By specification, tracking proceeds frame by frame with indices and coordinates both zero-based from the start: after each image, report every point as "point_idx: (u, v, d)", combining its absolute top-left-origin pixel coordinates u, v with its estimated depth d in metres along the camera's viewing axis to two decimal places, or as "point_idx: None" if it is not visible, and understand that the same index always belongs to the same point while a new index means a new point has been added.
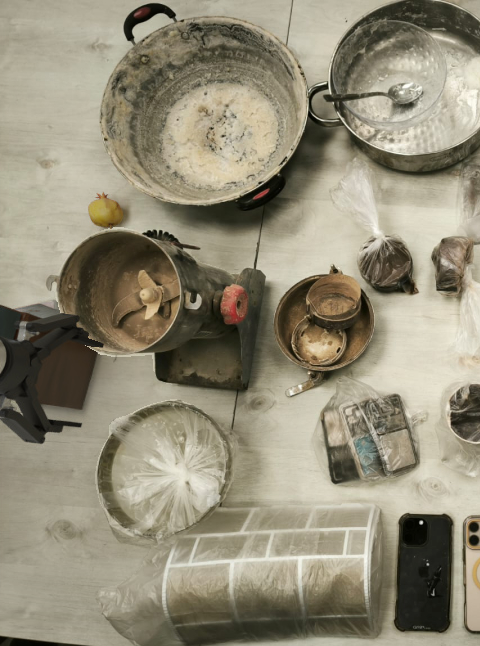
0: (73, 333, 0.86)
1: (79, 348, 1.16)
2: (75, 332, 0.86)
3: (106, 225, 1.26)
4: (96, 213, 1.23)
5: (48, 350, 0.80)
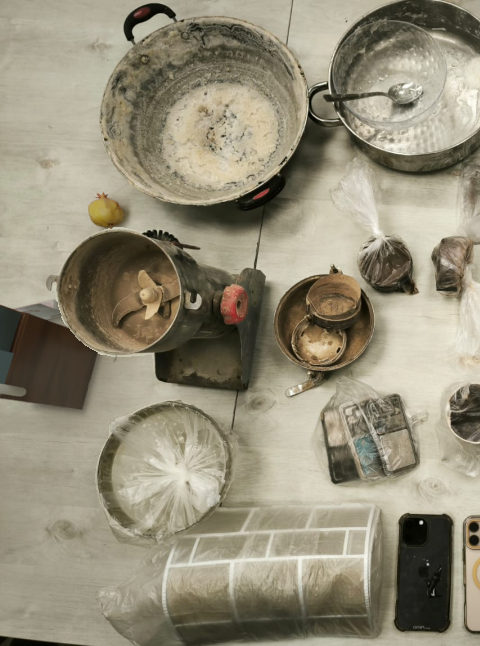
0: None
1: (79, 348, 1.16)
2: None
3: (106, 225, 1.26)
4: (96, 213, 1.23)
5: None
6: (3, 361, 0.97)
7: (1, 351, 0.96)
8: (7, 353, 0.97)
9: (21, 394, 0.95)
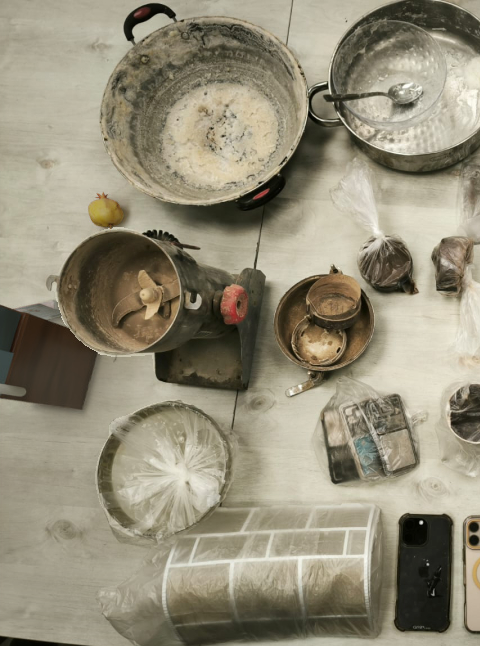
0: None
1: (79, 348, 1.16)
2: None
3: (106, 225, 1.26)
4: (96, 213, 1.23)
5: None
6: (3, 361, 0.97)
7: (1, 351, 0.96)
8: (7, 353, 0.97)
9: (21, 394, 0.95)
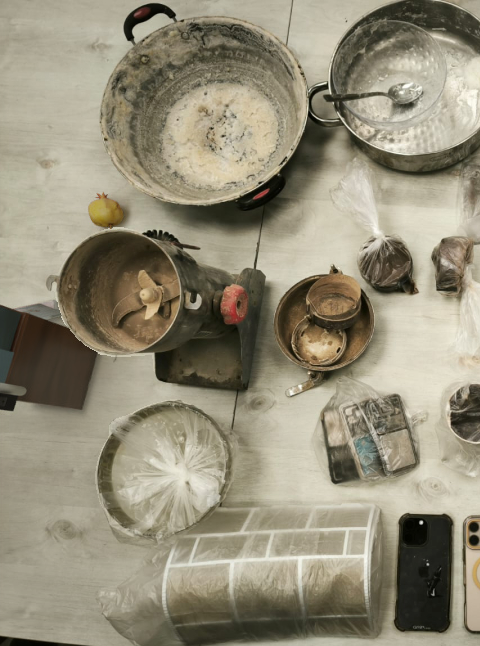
0: None
1: (79, 348, 1.16)
2: None
3: (106, 225, 1.26)
4: (96, 213, 1.23)
5: None
6: (3, 360, 0.97)
7: (1, 350, 0.96)
8: (7, 352, 0.97)
9: (21, 393, 0.95)
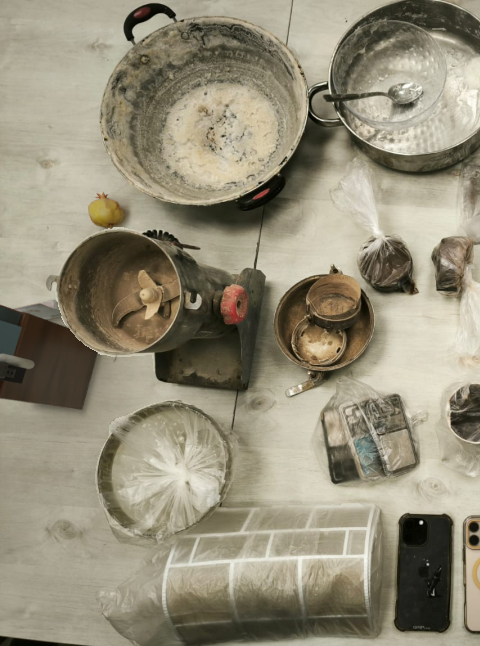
0: None
1: (79, 348, 1.16)
2: None
3: (106, 225, 1.26)
4: (96, 213, 1.23)
5: None
6: (11, 334, 0.98)
7: (9, 324, 0.97)
8: (15, 327, 0.98)
9: (29, 366, 0.96)
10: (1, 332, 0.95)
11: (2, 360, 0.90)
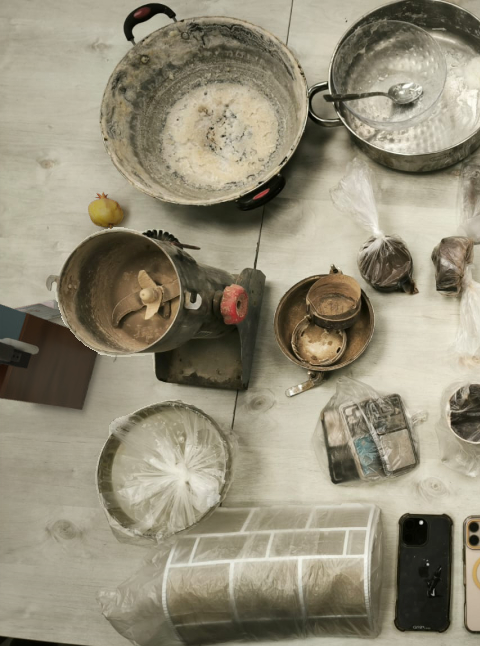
0: None
1: (79, 348, 1.16)
2: None
3: (106, 225, 1.26)
4: (96, 213, 1.23)
5: None
6: (16, 320, 0.98)
7: (14, 310, 0.98)
8: (20, 312, 0.99)
9: (34, 352, 0.97)
10: (6, 317, 0.96)
11: None
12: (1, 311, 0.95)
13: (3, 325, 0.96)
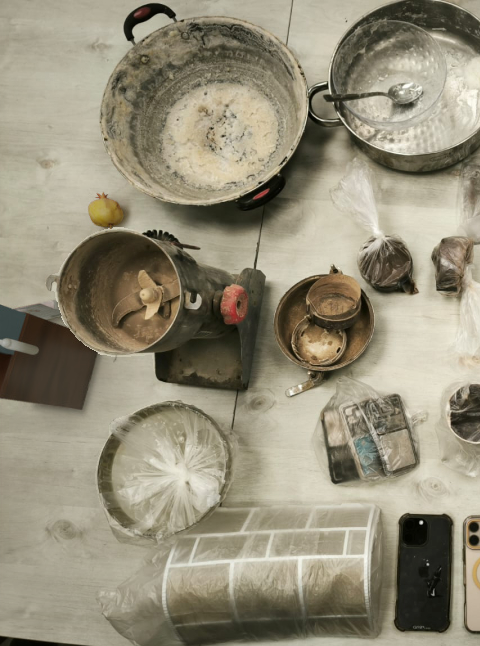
0: None
1: (79, 348, 1.16)
2: None
3: (106, 225, 1.26)
4: (96, 213, 1.23)
5: None
6: (16, 320, 0.98)
7: (14, 310, 0.97)
8: (20, 313, 0.99)
9: (34, 352, 0.97)
10: (6, 318, 0.96)
11: (7, 345, 0.91)
12: (1, 311, 0.95)
13: (3, 325, 0.96)
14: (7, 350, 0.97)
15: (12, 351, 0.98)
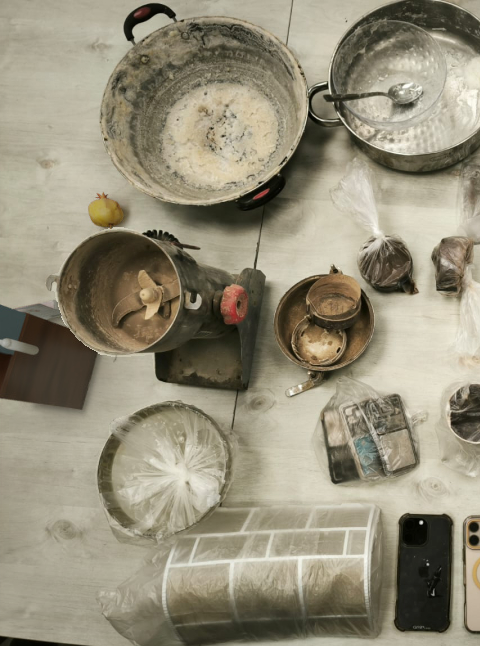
0: None
1: (79, 348, 1.16)
2: None
3: (106, 225, 1.26)
4: (96, 213, 1.23)
5: None
6: (16, 320, 0.98)
7: (14, 310, 0.97)
8: (20, 313, 0.99)
9: (34, 352, 0.97)
10: (6, 318, 0.96)
11: (7, 345, 0.91)
12: (1, 311, 0.95)
13: (3, 325, 0.96)
14: (7, 350, 0.97)
15: (12, 351, 0.98)
